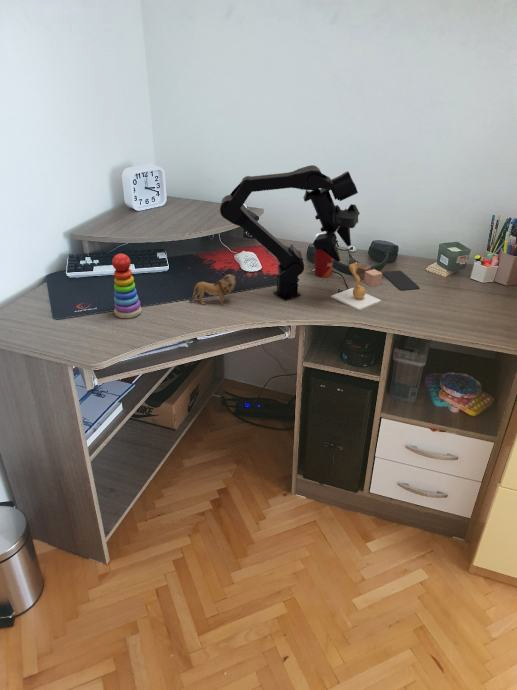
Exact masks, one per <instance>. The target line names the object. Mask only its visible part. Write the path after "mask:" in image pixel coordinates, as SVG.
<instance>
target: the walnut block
mask: <svg viewBox="0 0 517 690" xmlns="http://www.w3.org/2000/svg"><path fill="white" fill-rule="evenodd" d="M369 270H372V265H367V264H364V263H360V264H359V263H358V266H357V272H356V274H357V275H358V276H359V277H360V281H361V280H362V281H364V277H365V271H369ZM353 277H354V276H353ZM354 279H355V277H354Z"/></svg>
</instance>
